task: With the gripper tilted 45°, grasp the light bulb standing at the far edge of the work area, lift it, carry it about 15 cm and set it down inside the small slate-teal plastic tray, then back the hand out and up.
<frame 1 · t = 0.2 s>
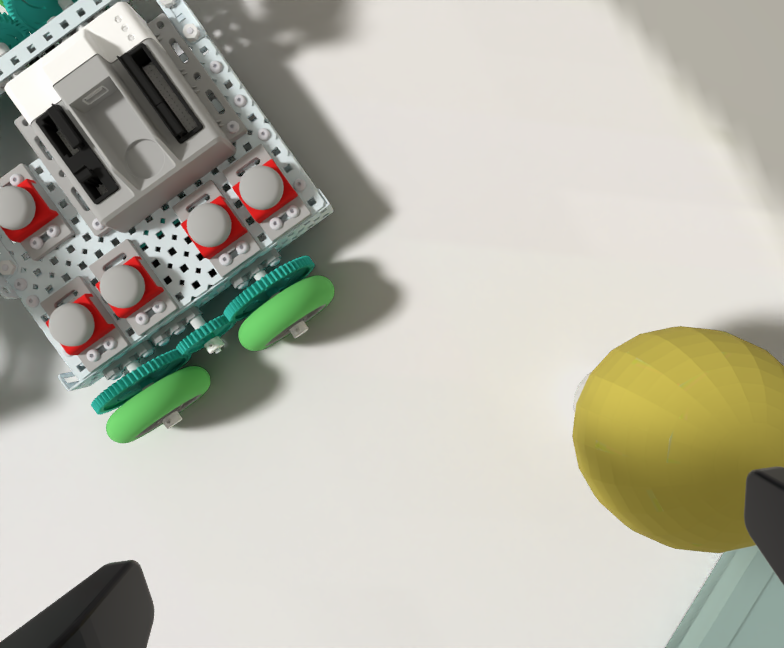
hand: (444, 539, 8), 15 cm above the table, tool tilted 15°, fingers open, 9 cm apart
robot kit: (49, 260, 24), on the table
light bulb: (599, 399, 23), on the table
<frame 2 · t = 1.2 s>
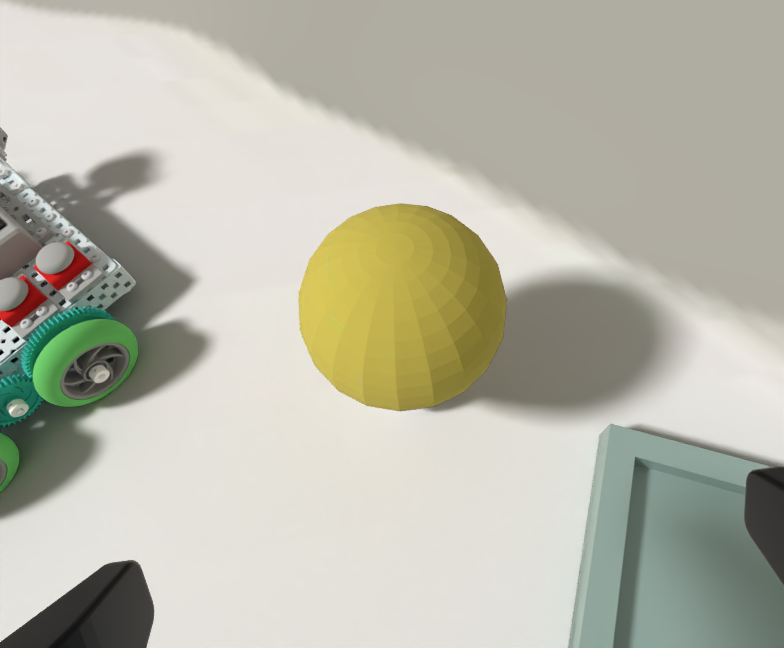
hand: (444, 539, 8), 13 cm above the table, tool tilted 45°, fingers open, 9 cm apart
light bulb: (411, 385, 23), on the table
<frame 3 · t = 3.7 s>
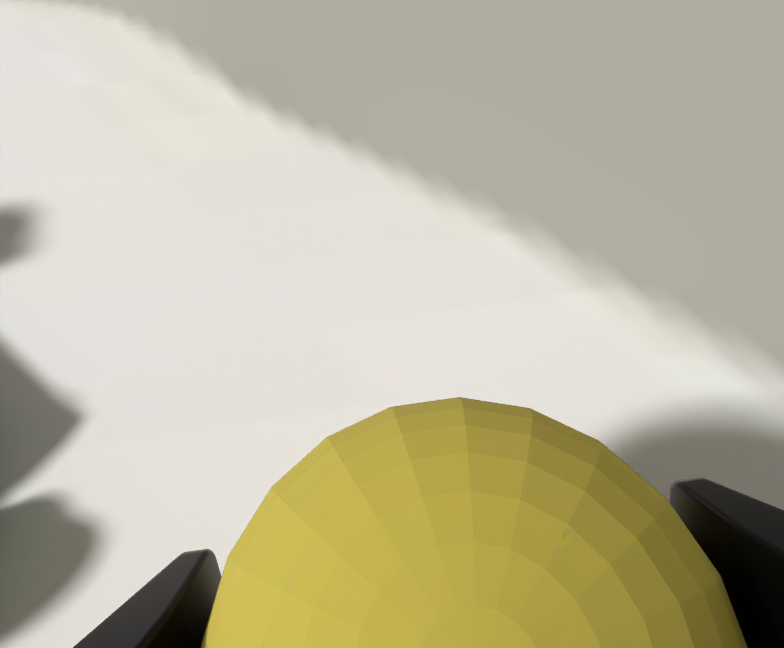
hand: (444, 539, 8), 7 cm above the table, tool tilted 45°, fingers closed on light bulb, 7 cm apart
light bulb: (450, 630, 13), on the table, touching gripper
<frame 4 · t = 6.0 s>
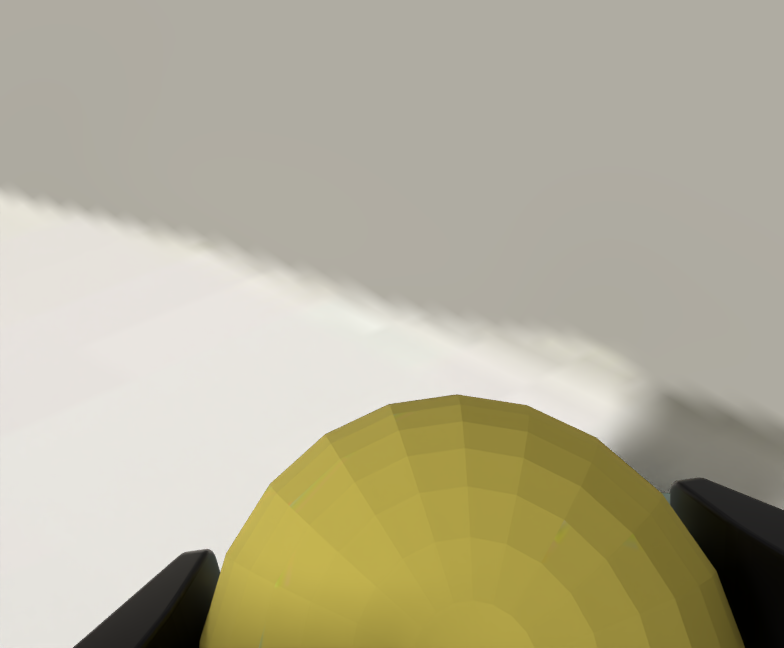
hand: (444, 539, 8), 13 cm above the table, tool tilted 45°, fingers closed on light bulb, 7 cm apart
light bulb: (449, 627, 13), point 7 cm above the table, touching gripper
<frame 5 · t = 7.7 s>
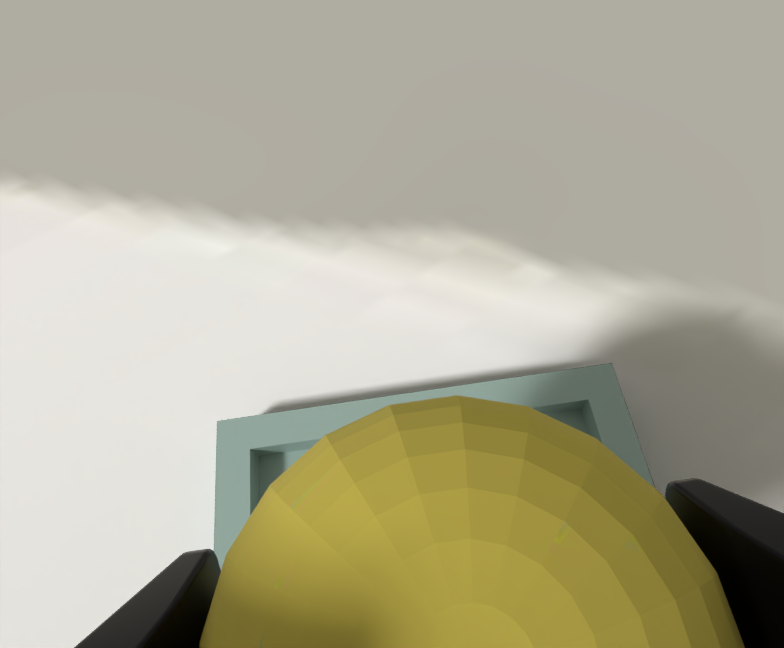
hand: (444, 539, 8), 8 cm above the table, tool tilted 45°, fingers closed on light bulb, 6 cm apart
tray: (447, 616, 15), on the table
light bulb: (449, 627, 13), point 1 cm above the table, touching gripper
when the fingers open (8 cm above the table, at t = 8.1 s): light bulb drops 1 cm, resting on tray.
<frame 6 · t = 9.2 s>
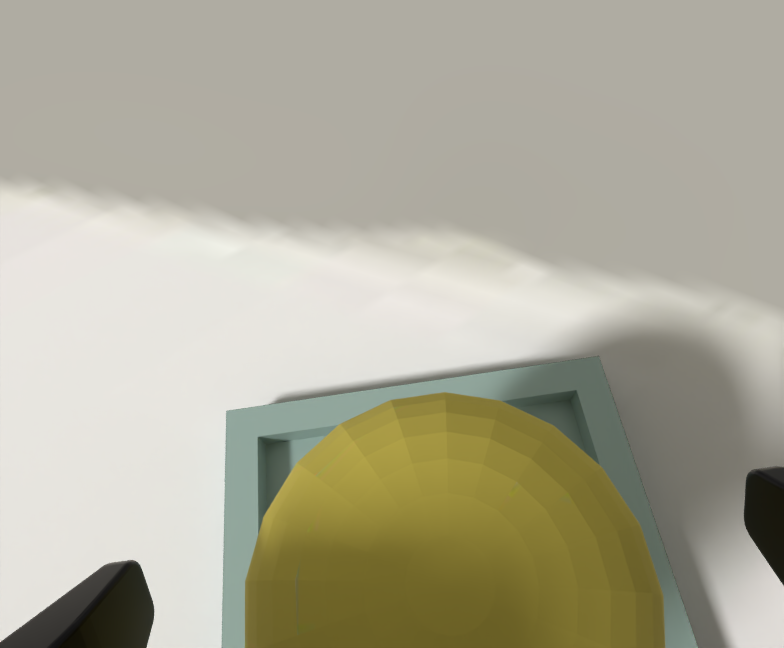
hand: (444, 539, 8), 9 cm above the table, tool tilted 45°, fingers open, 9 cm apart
tray: (443, 593, 16), on the table
light bulb: (443, 595, 15), resting on tray
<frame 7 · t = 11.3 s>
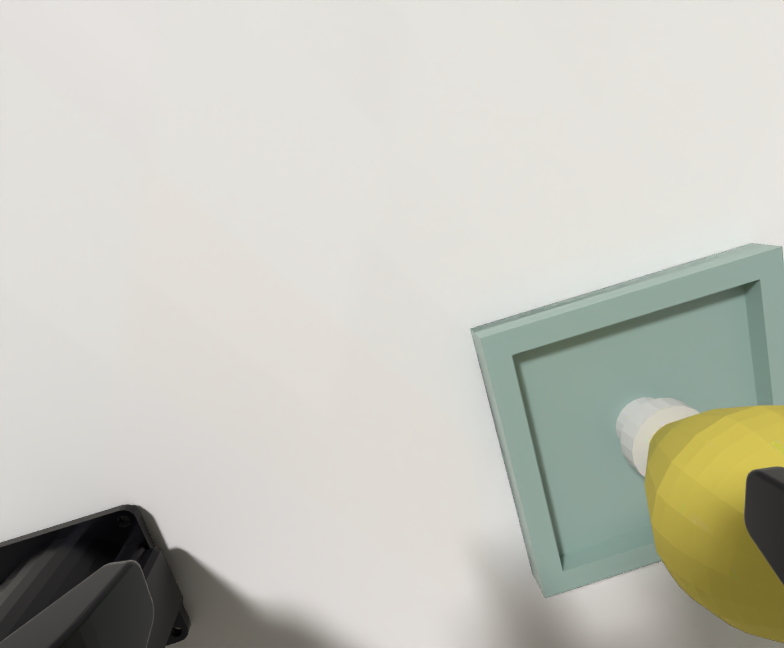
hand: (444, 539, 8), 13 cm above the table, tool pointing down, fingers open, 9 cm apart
tray: (636, 417, 23), on the table
light bulb: (640, 421, 23), resting on tray
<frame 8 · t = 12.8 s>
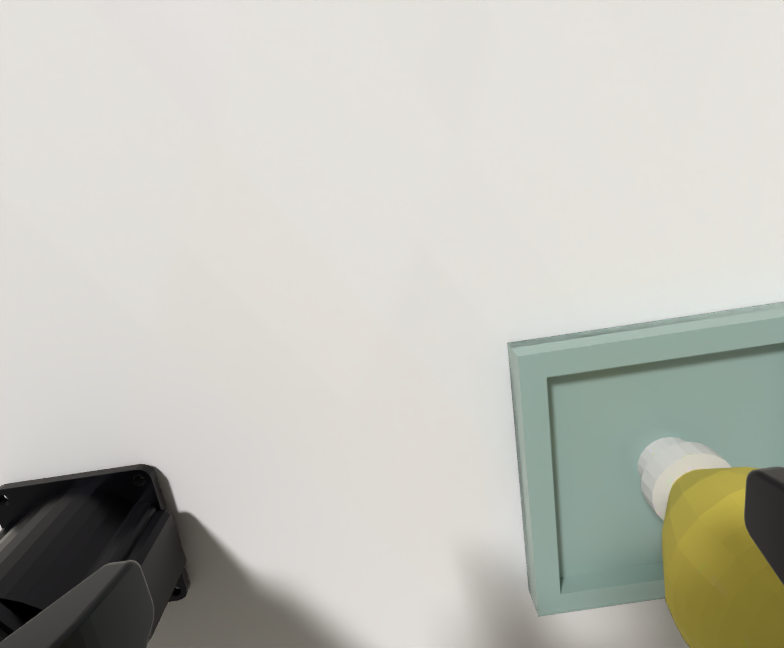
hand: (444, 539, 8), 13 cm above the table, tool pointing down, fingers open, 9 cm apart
tray: (659, 455, 23), on the table
light bulb: (663, 459, 22), resting on tray
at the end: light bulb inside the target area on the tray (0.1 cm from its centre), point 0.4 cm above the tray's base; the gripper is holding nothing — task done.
